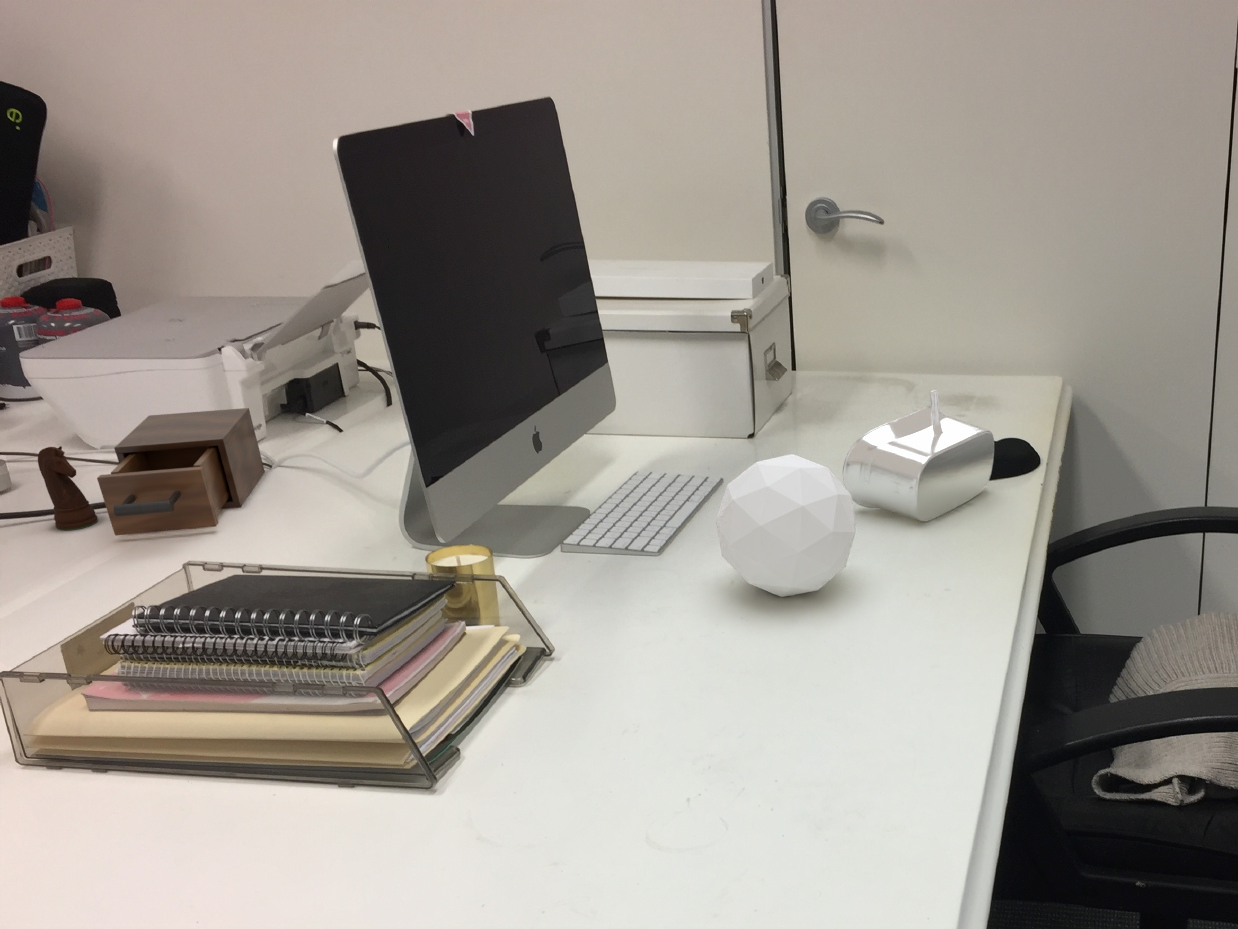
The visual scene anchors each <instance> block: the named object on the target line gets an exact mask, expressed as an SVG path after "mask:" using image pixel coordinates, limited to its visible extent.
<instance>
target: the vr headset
mask: <svg viewBox="0 0 1238 929" xmlns="http://www.w3.org/2000/svg"><path fill="white" fill-rule="evenodd" d="M929 397H930V405H928V406H925V407H923V408H921V409H919V410H917V411H915V412H912V413H911V414H908V415H906V416H903V417H900V418H897V419H894V420H891V421H888V422H886V423H884V424H881V425H879V426H877V427H875V428H873V429H871V430H869V431H868V432H866V433H865V434H863V435H862V436H860V437H858V439H857V440H856V441H855V442H854V443H853V444H852V446H851V447H850V448H849V450H848V452H847V453H846V456H845V459H844V461H843V464H842V465H843V466H842V480H843V481H842V482H843V486H844V487H845V488H846V490H847V491H848V492H849V493H850V494H851V495H852V502H853V503H855V504H856V505H858V506H861V507H864V508H868V509H880V510H883V511H886V512H890V513H893V514H897V515H900V516H902V517H907V518H909V519H913V520H916V521H919V522H923V523H924V522H928V521H929V522H930V521H932V520H934V519H937V518H939V517H941V516H943V515H945V514H947V513H949V512H950V511H952V510H954V509H956V508H958V507H960V506H962V505H964V504H965V503H967V502H969V501H970V500H972V499H974V498H976V497H977V496H979V494H981V493H982V492H983V491H984V490H985V489H986V487H987V486H988V483H989V481H990V479H991V475H992V471H993V465H994V458H995V438H994V434H993V433H992V431H991V430H990V429H987V428H984V427H981V426H978V425H975V424H972V423H969V422H966V421H963V420H959V419H957V418H954V417H952V416H949V415H948V416H947V415H946V414H944V413H942V412H940V404H939V403H940V402H939V391H938V390H931V391H930V392H929Z"/></svg>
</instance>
